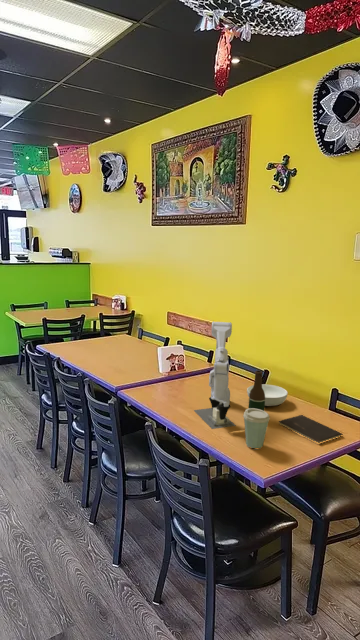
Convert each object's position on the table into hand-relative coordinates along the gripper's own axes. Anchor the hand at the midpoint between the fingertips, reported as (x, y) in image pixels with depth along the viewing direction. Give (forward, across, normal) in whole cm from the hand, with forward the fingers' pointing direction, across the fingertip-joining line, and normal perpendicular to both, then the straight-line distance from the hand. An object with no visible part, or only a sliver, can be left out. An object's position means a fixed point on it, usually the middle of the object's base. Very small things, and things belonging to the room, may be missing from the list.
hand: (218, 415), depth 191 cm
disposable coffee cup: (+4, +24, +5) cm, 25 cm away
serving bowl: (+4, -17, +36) cm, 40 cm away
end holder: (+4, 0, 0) cm, 4 cm away
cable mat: (+4, -5, 0) cm, 6 cm away
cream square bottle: (+3, 0, 0) cm, 3 cm away
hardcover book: (+5, +18, +37) cm, 41 cm away
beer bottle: (+4, +1, +19) cm, 19 cm away
